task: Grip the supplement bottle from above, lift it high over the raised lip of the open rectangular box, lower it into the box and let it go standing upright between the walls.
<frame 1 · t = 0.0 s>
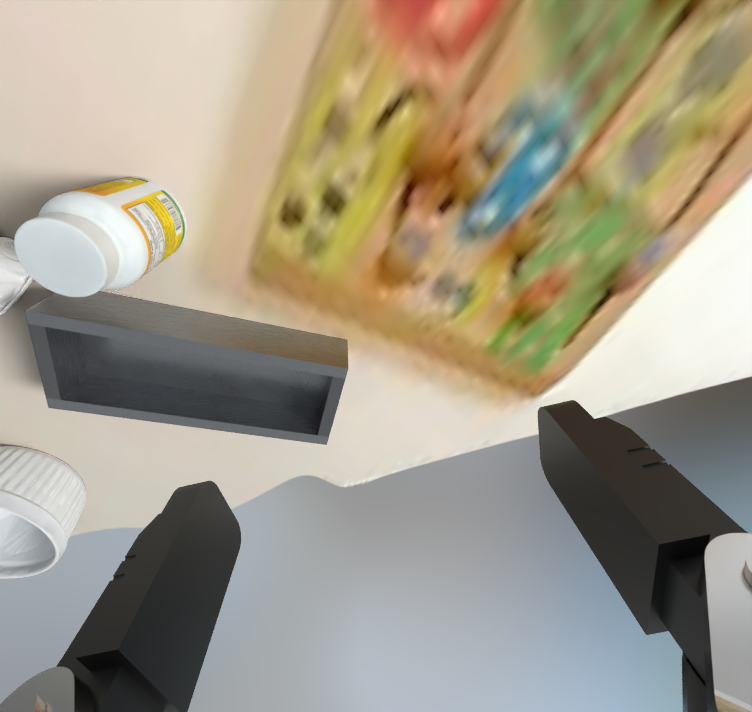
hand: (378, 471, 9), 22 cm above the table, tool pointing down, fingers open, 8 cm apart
open rectangular box: (215, 356, 33), on the table
ramekin: (30, 477, 39), on the table
supplement bottle: (149, 216, 26), on the table
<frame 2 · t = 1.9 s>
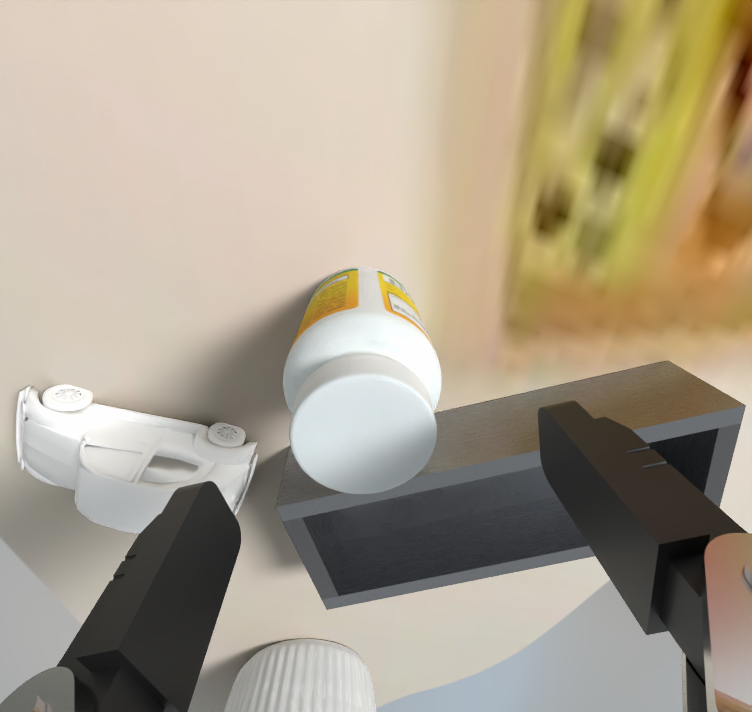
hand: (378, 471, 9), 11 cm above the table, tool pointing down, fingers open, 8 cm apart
open rectangular box: (481, 460, 23), on the table
car: (155, 439, 22), on the table
ramekin: (305, 667, 33), on the table
supplement bottle: (360, 316, 19), on the table
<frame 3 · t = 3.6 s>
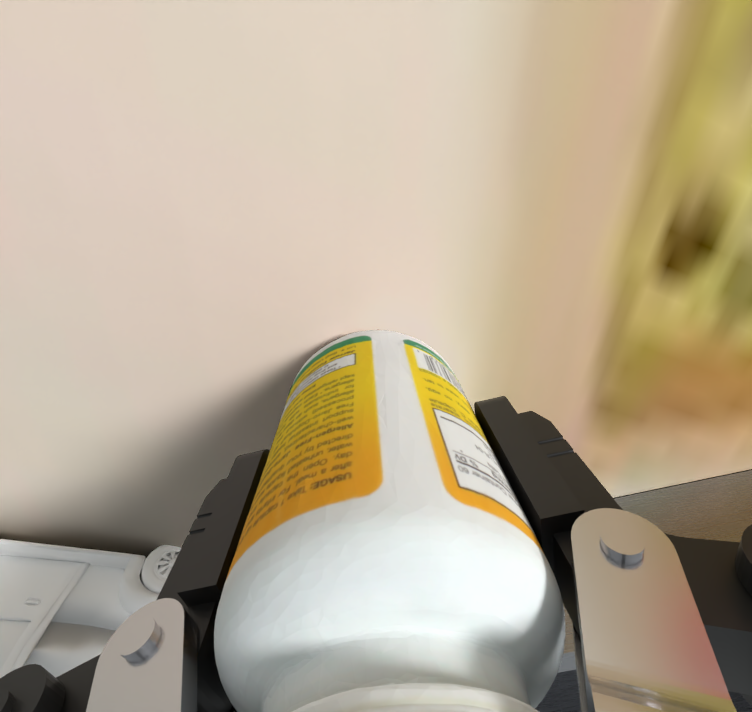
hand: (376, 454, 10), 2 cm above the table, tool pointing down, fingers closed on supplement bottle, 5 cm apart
open rectangular box: (542, 581, 16), on the table
car: (77, 564, 15), on the table
supplement bottle: (373, 399, 12), on the table, touching gripper
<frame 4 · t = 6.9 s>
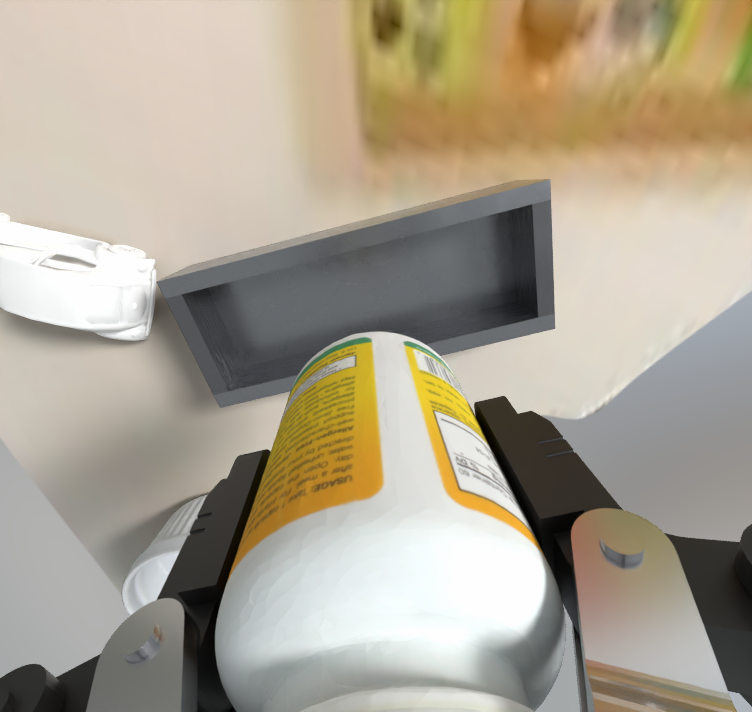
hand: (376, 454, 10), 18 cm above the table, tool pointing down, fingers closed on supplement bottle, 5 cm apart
open rectangular box: (365, 287, 26), on the table
car: (72, 270, 25), on the table
ramekin: (235, 529, 35), on the table
supplement bottle: (373, 400, 12), point 15 cm above the table, touching gripper
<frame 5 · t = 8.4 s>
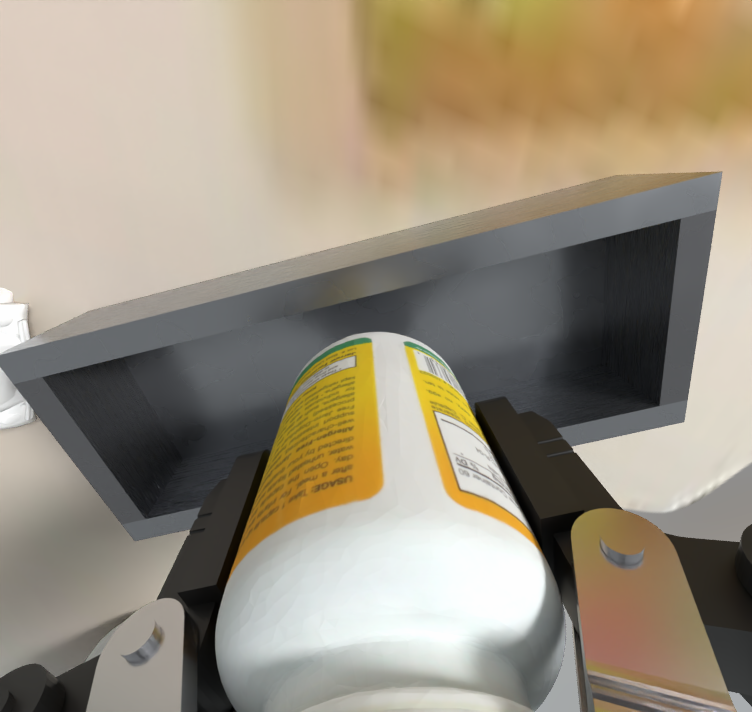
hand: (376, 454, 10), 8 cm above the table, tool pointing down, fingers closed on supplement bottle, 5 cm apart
open rectangular box: (367, 341, 17), on the table
supplement bottle: (373, 400, 12), point 5 cm above the table, touching gripper
when the fingers open (5 cm above the table, at t = 10.0 s): supplement bottle drops 1 cm, resting on open rectangular box.
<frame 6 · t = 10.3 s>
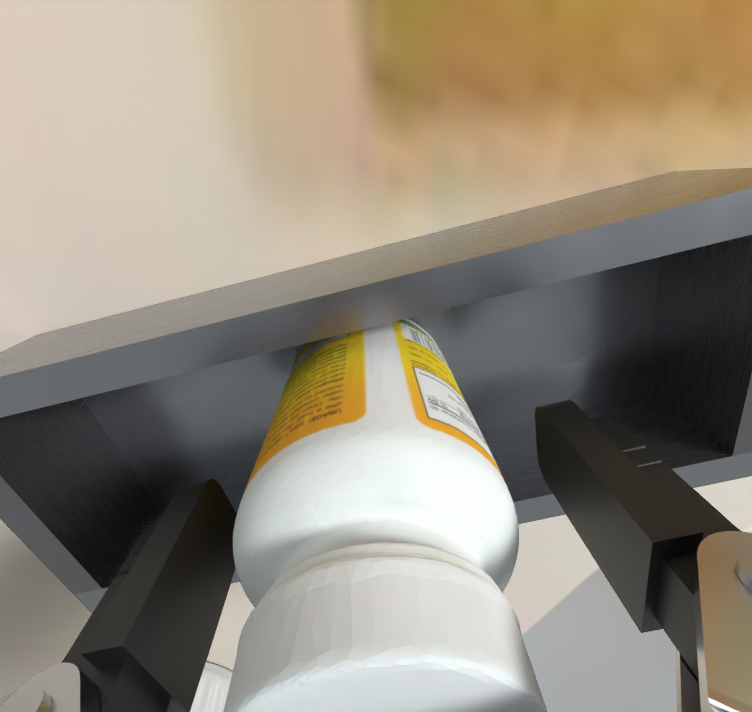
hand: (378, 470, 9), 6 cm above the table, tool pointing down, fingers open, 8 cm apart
open rectangular box: (370, 368, 14), on the table
ramekin: (176, 694, 24), on the table
supplement bottle: (368, 375, 13), point 1 cm above the table, touching open rectangular box
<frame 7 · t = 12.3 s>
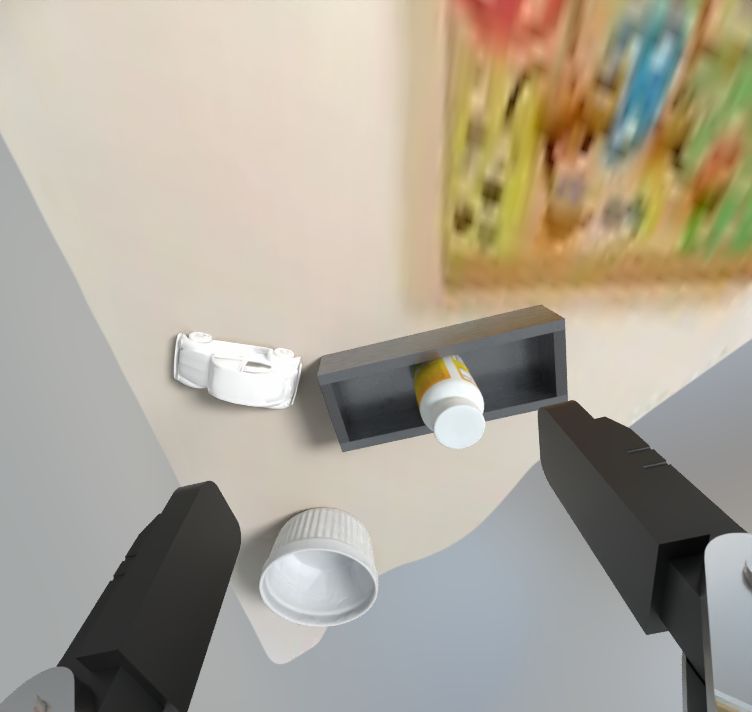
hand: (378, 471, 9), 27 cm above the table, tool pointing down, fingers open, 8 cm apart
open rectangular box: (436, 369, 38), on the table
car: (242, 364, 38), on the table
ramekin: (324, 536, 47), on the table
supplement bottle: (437, 371, 37), point 1 cm above the table, touching open rectangular box
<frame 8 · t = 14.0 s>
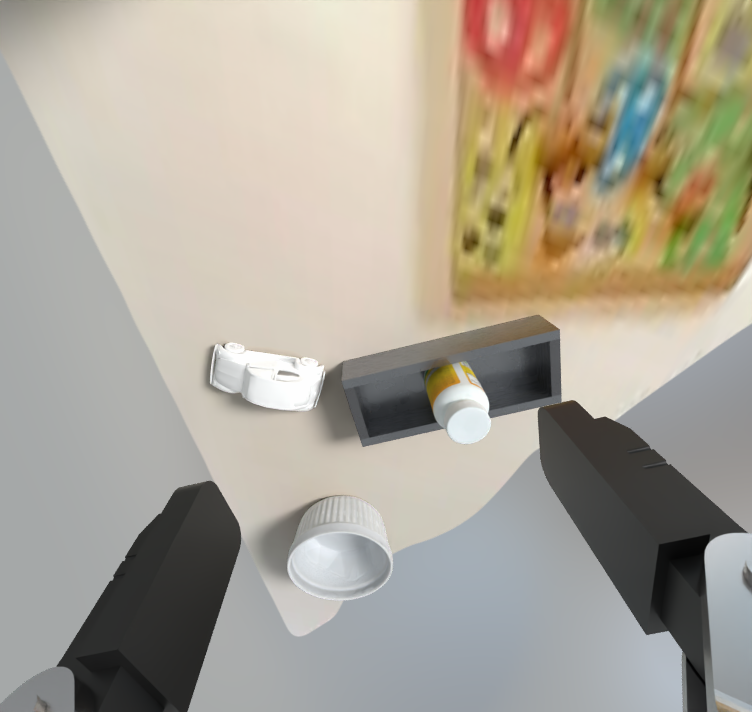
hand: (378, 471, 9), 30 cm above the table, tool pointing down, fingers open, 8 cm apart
open rectangular box: (445, 371, 42), on the table
car: (270, 371, 42), on the table
ramekin: (342, 520, 52), on the table
supplement bottle: (446, 374, 41), point 1 cm above the table, touching open rectangular box
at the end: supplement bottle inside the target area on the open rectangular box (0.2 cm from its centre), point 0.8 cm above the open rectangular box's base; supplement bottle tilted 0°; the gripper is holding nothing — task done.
